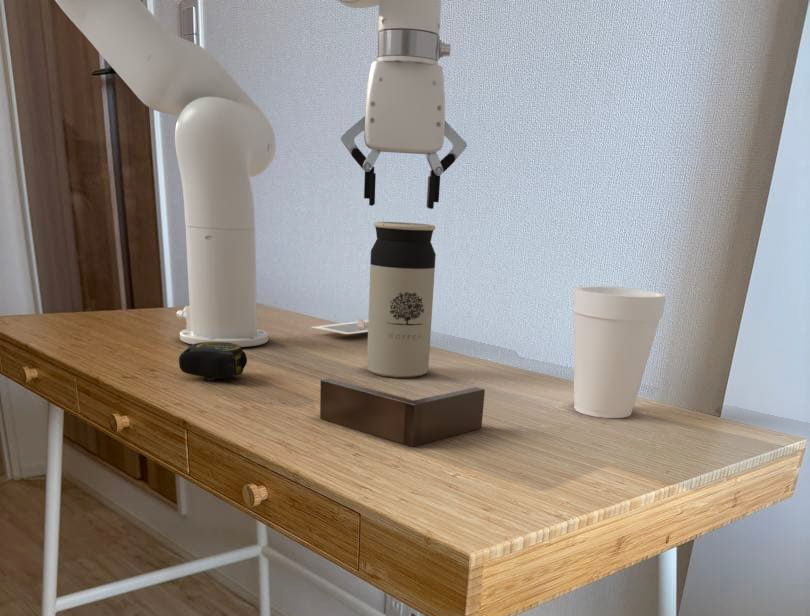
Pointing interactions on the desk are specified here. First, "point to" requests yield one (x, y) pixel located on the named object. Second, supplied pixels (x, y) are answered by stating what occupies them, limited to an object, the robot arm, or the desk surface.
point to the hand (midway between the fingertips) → (400, 205)
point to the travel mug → (400, 299)
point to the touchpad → (346, 327)
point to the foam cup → (612, 346)
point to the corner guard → (401, 412)
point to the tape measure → (213, 360)
